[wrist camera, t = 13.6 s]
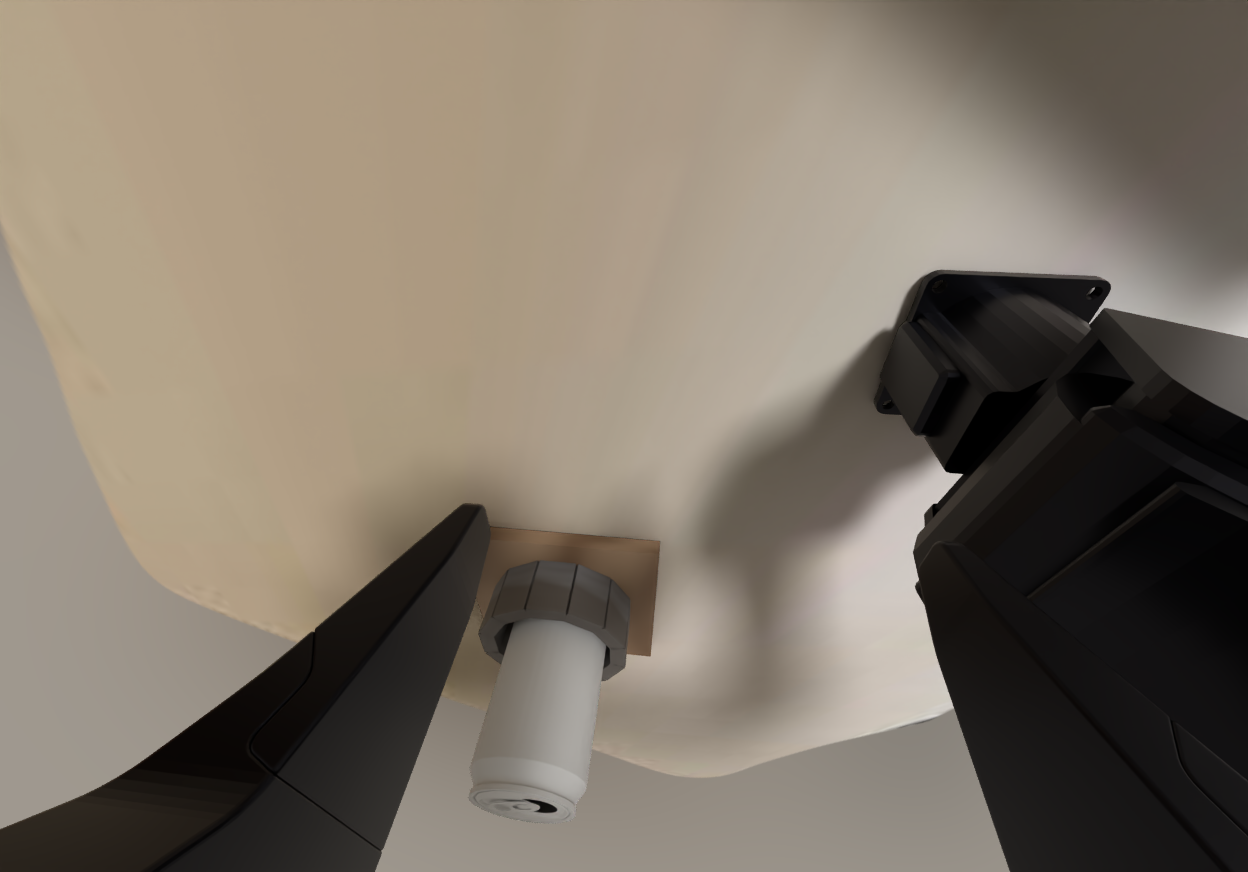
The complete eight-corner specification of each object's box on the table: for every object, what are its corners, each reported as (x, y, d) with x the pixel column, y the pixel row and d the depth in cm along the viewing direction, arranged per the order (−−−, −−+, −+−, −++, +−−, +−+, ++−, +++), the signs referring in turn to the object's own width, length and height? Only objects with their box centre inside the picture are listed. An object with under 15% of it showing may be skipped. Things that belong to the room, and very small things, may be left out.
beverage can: (618, 626, 35) (594, 832, 26) (536, 626, 36) (485, 823, 27) (601, 574, 31) (566, 795, 22) (510, 576, 32) (440, 785, 23)
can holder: (659, 541, 30) (656, 605, 27) (651, 644, 38) (647, 703, 35) (461, 524, 31) (433, 583, 28) (494, 628, 39) (475, 684, 36)
